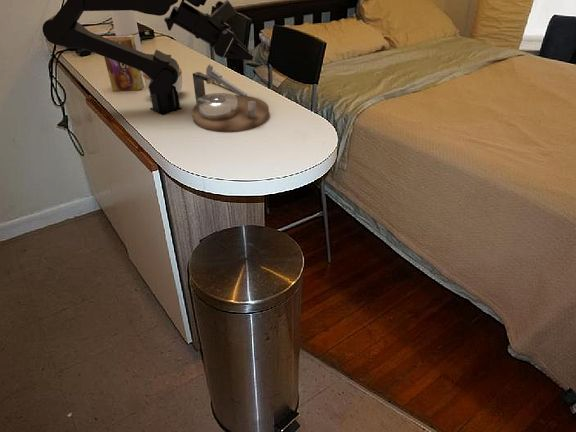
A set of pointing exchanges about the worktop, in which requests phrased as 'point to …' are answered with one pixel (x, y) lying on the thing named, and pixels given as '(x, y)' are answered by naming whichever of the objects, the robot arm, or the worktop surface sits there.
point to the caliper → (222, 80)
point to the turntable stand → (200, 84)
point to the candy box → (123, 68)
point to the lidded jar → (177, 85)
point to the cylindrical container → (126, 25)
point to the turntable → (237, 116)
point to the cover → (217, 106)
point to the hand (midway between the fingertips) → (250, 55)
